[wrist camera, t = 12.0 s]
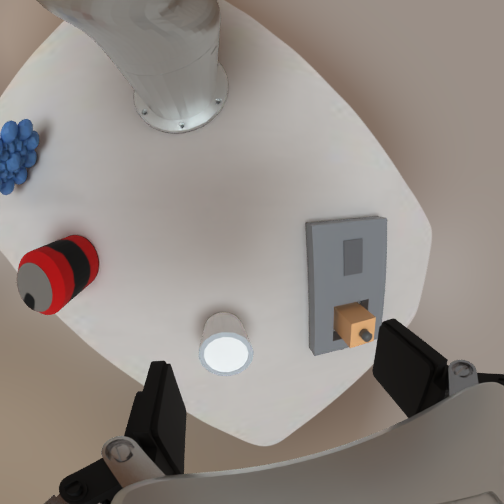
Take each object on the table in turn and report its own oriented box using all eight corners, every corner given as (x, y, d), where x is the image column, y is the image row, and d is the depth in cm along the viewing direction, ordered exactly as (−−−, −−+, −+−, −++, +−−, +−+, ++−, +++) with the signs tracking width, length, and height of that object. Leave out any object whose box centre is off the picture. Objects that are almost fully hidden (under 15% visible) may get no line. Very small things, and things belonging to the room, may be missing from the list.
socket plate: (305, 223, 37) (312, 225, 34) (377, 216, 38) (387, 218, 35) (309, 347, 41) (314, 356, 39) (372, 331, 43) (380, 338, 40)
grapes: (38, 115, 27) (-8, 99, 15) (61, 134, 29) (13, 120, 17) (5, 179, 28) (-43, 181, 16) (26, 201, 30) (-25, 208, 18)
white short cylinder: (207, 302, 37) (206, 326, 30) (253, 314, 39) (261, 339, 32) (195, 342, 38) (193, 370, 32) (238, 352, 40) (244, 380, 33)
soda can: (52, 266, 33) (6, 293, 21) (69, 224, 32) (20, 240, 20) (88, 294, 34) (50, 332, 23) (107, 253, 34) (67, 280, 22)
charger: (332, 305, 40) (356, 329, 32) (355, 300, 41) (381, 321, 33) (332, 327, 41) (354, 353, 33) (354, 321, 42) (378, 345, 34)
